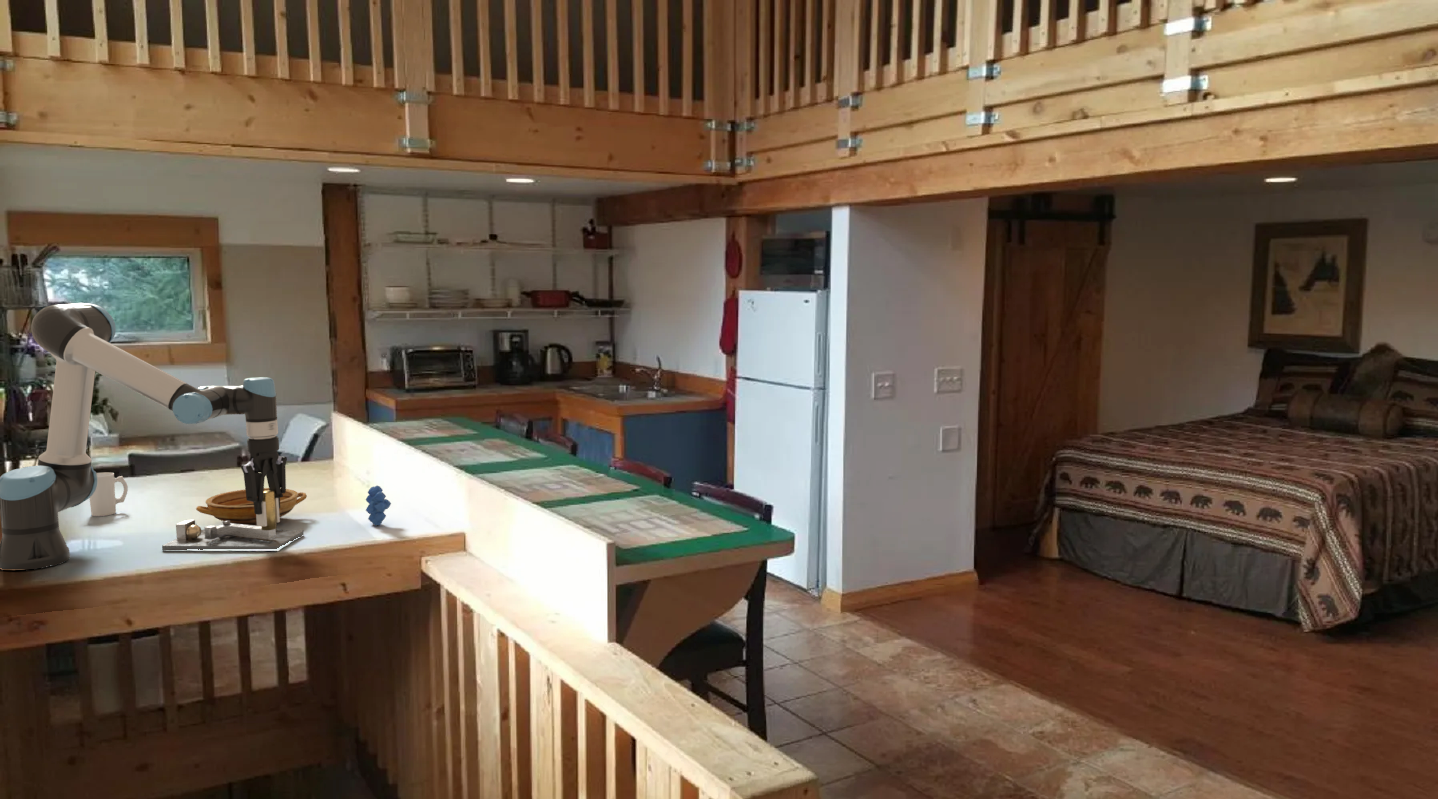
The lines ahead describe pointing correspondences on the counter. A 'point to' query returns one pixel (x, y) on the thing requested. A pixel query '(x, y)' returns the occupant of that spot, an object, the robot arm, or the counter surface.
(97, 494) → the mug
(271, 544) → the base
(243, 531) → the lever
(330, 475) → the counter surface
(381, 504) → the grapes
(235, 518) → the ceramic bowl
